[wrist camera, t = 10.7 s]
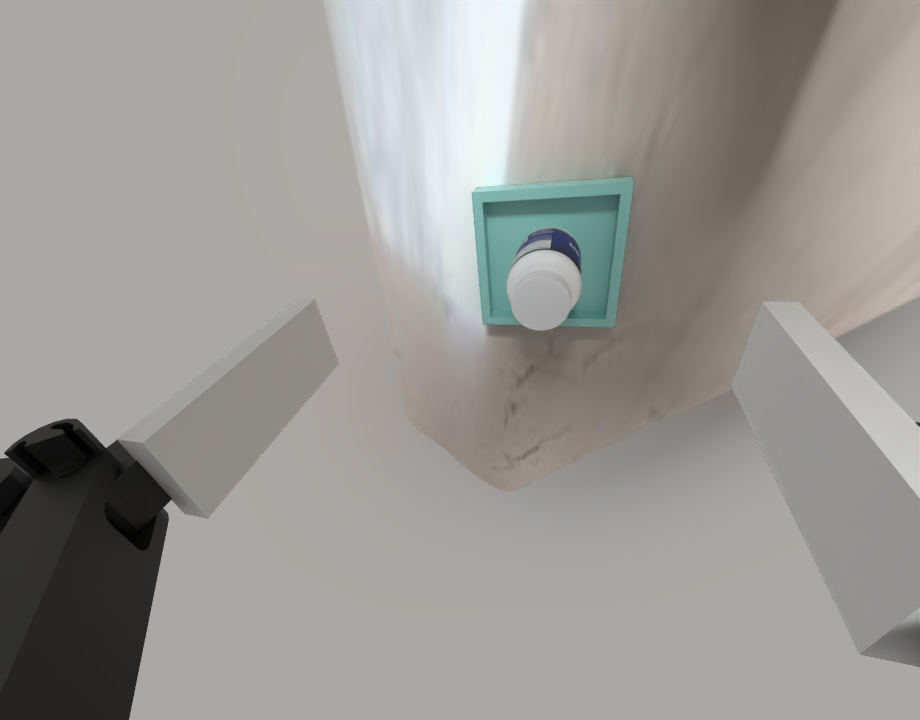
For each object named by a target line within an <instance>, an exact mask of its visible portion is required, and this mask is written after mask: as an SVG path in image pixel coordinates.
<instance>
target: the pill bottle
mask: <svg viewBox="0 0 920 720" xmlns="http://www.w3.org/2000/svg"><path fill="white" fill-rule="evenodd" d="M581 287H582V270H581V252H580V248H579V245H578V243H577V241H576V239H575V238H574V237H573V236H572V235H571V234H570V233H569V232H568V231H566V230H564V229H562V228H559V227H553V226H550V227H543V228H539V229H537V230H535V231H533V232H531V233H530V234H529V235H528V236H526V238H525V239H524V240H523V241H522V243H521V245H520V247H519V249H518V251H517V254H516V256H515V259H514V262H513V264H512V267H511V270H510V272H509V275H508V279H507V294H508V298H509V300H510V302H511V309H512V312H513V315H514V316H515V318H516V319H517V321H518V322H519V323H520V324H522V325H523V326H525V327H527V328H529V329H532V330H538V331H544V330H549V329H553V328H555V327H557V326H558V325H560V324H561V323H562V322H563V321H564V320H565V319H566V318H567V316H568V314H569V312H570V310H571V309H572V308H573V307H574V306H575V304H576V303H577V301H578V299H579V297H580V293H581Z"/></svg>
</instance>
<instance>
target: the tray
mask: <svg viewBox="0 0 920 720" xmlns="http://www.w3.org/2000/svg"><path fill="white" fill-rule="evenodd" d="M633 186H634V181H633V179H632V177H618V178H604V179H590V180H576V181H562V182H547V183H533V184H519V185H505V186H491V187H477V188H476V189H475V190H474V191H473V192H472V202H473V213H474V225H475V237H476V249H477V261H478V273H479V285H480V296H481V308H482V320H483V324H495V325H522V324H520V323H519V322H518V321H517V319H516V318H515V316H514V315H513V312H512V309H511V302H510V300H509V298H508V294H507V279H508V275H509V272H510V270H511V267H512V264H513V262H514V259H515V256H516V254H517V251H518V249H519V247H520V245H521V243H522V241H523V240H524V239H525V238H526V236H528V235H529V234H530V233H531V232H533V231H535V230H537V229H539V228H543V227H550V226H553V227H559V228H562V229H564V230H566V231H568V232H569V233H570V234H571V235H572V236H573V237H574V238H575V239H576V241H577V243H578V245H579V248H580V252H581V270H582V287H581V293H580V297H579V299H578V301H577V303H576V304H575V306H574V307H573V308H572V309H571V310H570V312H569V314H568V316H567V318H566V319H565V320H564V321H563V322H562V323H561V324H560V325H558V326H571V327H609V328H615V320H616V313H617V305H618V298H619V290H620V283H621V275H622V268H623V261H624V253H625V246H626V238H627V231H628V223H629V216H630V208H631V201H632V193H633Z"/></svg>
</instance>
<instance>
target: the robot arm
mask: <svg viewBox="0 0 920 720" xmlns="http://www.w3.org/2000/svg"><path fill="white" fill-rule="evenodd" d="M338 364H339V362H338V360H337V357H336V354H335V352H334V349H333V346H332V344H331V341H330V338H329V335H328V333H327V330H326V328H325V325H324V322H323V319H322V317H321V314H320V311H319V309H318V306H317V303H316V301H315V299H296V300H295V301H293V302H292V303H291V304H289V305H288V306H287V307H286V308H284V309H283V310H282V311H280V312H279V313H278V314H277V315H275V316H274V317H273V318H272V319H270V320H269V321H268V322H266V323H265V324H264V325H262V326H261V327H260V328H259V329H257V330H256V331H255V332H253V333H252V334H251V335H250V336H248V337H247V338H246V339H244V340H243V341H242V342H241V343H239V344H238V345H237V346H235V347H234V348H233V349H232V350H230V351H229V352H228V353H226V354H225V355H224V356H223V357H221V358H220V359H219V360H217V362H215V363H214V364H212V365H211V366H210V367H209V368H207V369H206V370H205V371H203V372H202V373H201V374H199V375H198V376H197V377H196V378H194V379H193V380H192V381H190V382H189V383H188V384H187V385H185V386H184V387H183V388H182V389H180V390H179V391H178V392H176V393H175V394H174V395H172V396H171V397H170V398H169V399H167V400H166V401H165V402H164V403H162V404H161V405H160V406H158V407H157V408H156V409H155V410H153V411H152V412H151V413H149V414H148V415H147V416H145V418H143V419H142V420H140V421H139V422H138V423H137V424H135V425H134V426H133V427H131V428H130V429H129V430H127V431H126V432H125V433H124V434H122V435H121V436H120V437H119V438H117V440H116V441H115V442H114V443H112V444H111V445H110V446H109V447H107V448H105V447H104V446H103V445H102V444H101V443H100V442H99V441H98V440H97V438H95V436H94V435H93V434H92V433H91V432H90V431H89V430H88V429H87V428H86V427H85V426H84V425H83V424H82V423H81V422H80V421H79V420H77V419H65V420H61V421H56V422H53V423H51V424H48V425H45V426H43V427H41V428H38V429H37V430H35V431H33V432H31V433H29V434H27V435H25V436H24V437H23V438H21V439H20V440H18V441H17V442H15V443H14V444H13V445H12V446H11V447H10V448H9V449H8V450H7V451H6V452H5V453H4V454H5V455H7V456H8V457H9V458H5V459H0V720H129V717H130V712H131V707H132V702H133V697H134V691H135V686H136V682H137V676H138V672H139V666H140V662H141V656H142V652H143V646H144V642H145V637H146V631H147V627H148V621H149V616H150V611H151V606H152V601H153V596H154V591H155V586H156V581H157V576H158V571H159V566H160V561H161V556H162V551H163V546H164V541H165V536H166V531H167V526H168V521H169V517H168V513H167V512H166V511H165V510H164V509H163V508H164V506H166V504H167V503H168V502H169V501H170V500H171V499H172V501H173V502H175V504H176V505H177V506H178V507H179V508H180V509H181V510H182V512H184V514H188V515H193V516H198V517H202V518H209V517H210V515H211V514H212V513H213V512H214V511H215V509H216V508H217V507H218V506H219V505H220V503H221V502H222V501H223V500H224V499H225V498H226V497H227V495H228V494H229V493H230V492H231V491H232V489H233V488H234V487H235V486H236V485H237V483H238V482H239V481H240V480H241V479H242V478H243V476H244V475H245V474H246V473H247V472H248V471H249V469H250V468H251V467H252V466H253V465H254V463H255V462H256V461H257V460H258V459H259V457H260V456H261V455H262V454H263V453H264V452H265V450H266V449H267V448H268V447H269V446H270V445H271V443H272V442H273V441H274V440H275V439H276V438H277V436H278V435H279V434H280V433H281V432H282V430H283V429H284V428H285V427H286V426H287V425H288V423H289V422H290V421H291V420H292V419H293V417H294V416H295V415H296V414H297V413H298V411H299V410H300V409H301V408H302V407H303V406H304V404H305V403H306V402H307V401H308V400H309V398H310V397H311V396H312V395H313V394H314V392H315V391H316V390H317V389H318V388H319V387H320V386H321V384H322V383H323V382H324V381H325V380H326V379H327V377H328V376H329V375H330V374H331V372H332V371H333V370H334V369H335V368H336V367H337V365H338ZM731 388H732V390H733V392H734V394H735V396H736V398H737V400H738V402H739V404H740V406H741V408H742V410H743V413H744V415H745V417H746V419H747V421H748V423H749V425H750V427H751V429H752V431H753V433H754V436H755V438H756V440H757V442H758V444H759V446H760V448H761V450H762V452H763V454H764V456H765V458H766V461H767V463H768V465H769V467H770V469H771V471H772V473H773V475H774V477H775V479H776V481H777V483H778V485H779V488H780V489H781V492H782V494H783V496H784V498H785V500H786V502H787V504H788V506H789V508H790V511H791V513H792V515H793V517H794V519H795V521H796V523H797V525H798V527H799V529H800V531H801V533H802V535H803V537H804V540H805V542H806V544H807V546H808V548H809V550H810V552H811V554H812V556H813V558H814V560H815V563H816V565H817V567H818V569H819V571H820V573H821V575H822V577H823V579H824V581H825V583H826V585H827V587H828V590H829V592H830V594H831V596H832V598H833V600H834V602H835V604H836V606H837V608H838V610H839V612H840V614H841V617H842V619H843V621H844V623H845V625H846V627H847V629H848V631H849V633H850V635H851V637H852V640H853V642H854V644H855V646H856V648H857V650H858V652H859V654H860V655H865V656H870V657H875V658H880V659H885V660H889V661H894V662H899V663H904V664H908V665H914V666H918V667H920V423H918V422H914V421H913V420H912V419H911V418H910V417H909V416H908V415H907V414H906V413H905V412H904V410H903V409H902V408H901V407H900V406H899V405H898V404H897V403H896V402H895V401H894V400H893V399H892V398H891V397H890V396H889V395H888V394H887V393H886V392H885V391H884V390H883V389H882V388H881V387H880V386H879V384H878V383H877V382H876V381H875V380H874V379H873V378H872V377H871V376H870V375H869V374H868V373H867V372H866V371H865V370H864V369H863V368H862V367H861V366H860V365H859V364H858V363H857V362H856V361H855V360H854V359H853V358H852V357H851V356H850V354H849V353H847V351H846V350H845V349H843V347H842V346H841V345H840V344H839V343H838V342H837V341H836V340H835V339H834V338H833V337H832V336H831V335H830V334H829V333H828V332H827V331H826V329H825V328H824V327H823V326H822V325H821V324H820V323H819V322H818V321H817V320H816V319H815V318H814V317H813V316H812V315H811V314H810V313H809V312H808V311H807V310H806V309H805V308H804V307H803V306H802V305H801V304H800V302H762V304H761V306H760V309H759V312H758V315H757V317H756V320H755V323H754V325H753V328H752V331H751V334H750V336H749V339H748V342H747V344H746V347H745V350H744V353H743V355H742V358H741V361H740V363H739V366H738V369H737V372H736V374H735V377H734V380H733V382H732V385H731Z"/></svg>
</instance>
